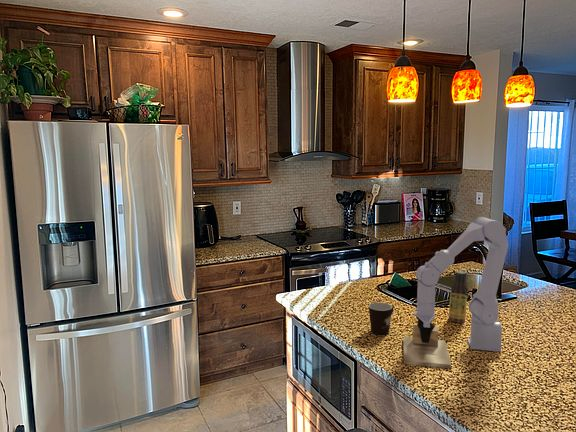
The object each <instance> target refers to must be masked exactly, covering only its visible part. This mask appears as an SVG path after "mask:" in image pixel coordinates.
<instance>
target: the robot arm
mask: <svg viewBox="0 0 576 432" xmlns="http://www.w3.org/2000/svg"><path fill="white" fill-rule="evenodd" d="M506 233H507V228H506V227H505V226H504V225H503V223H501V222H500V221H498V220H494V219H490V218H488V217H487V216H478V217H477V218H475V219H474V220H473V222H471V223H469V224H468V226H467V228H466V229H465V230H464V231H463V232H462V233H461V234H460V235H459V236H458V237H457V238H456V240H454V241H453V243H452V244H451V245H450V246H449V247H447V249H440V251H438V250H437V251H436V252H435V253H434V255H433V257H431V259H430V260H428V262H427V261H425V263H424V265H421V266H419V267H418V268H417V269H416V271H415V273H414V275H415V277H416V279H417V292H416V293H417V294H416V295H417V296H416V311H413V312H412V313H413V314H412V315H413V317H416V320H417V322H416V325H418V327H419V329H420V333H421V340H422V343H429V340H430V335H431V332H432V330H433V329H434V327H436V325H435V323H432V322H433V321H434V319H435V318H436V313H435V310H436V309H435V307H436V306H435V305H436V284H437V283H438V282H439V280H440V277H441V275H442V274H443V273H444V272H445V271H446V270H447V269H448V268H450V267H451V266H452V265H453V264H454V263H455V257H456V256H458V255H459V254H460V253H461V252H462V251H464V250H465V249H466V248H467V247H469V246H470V245H471V244H472V243H474V242H483V241H484V242H485V243H486V244H487V245H488V251H487V255H486V259H485V262H484V263H485V264H484V268H483V272H482V276H481V280H480V285H479V288H478V290H477V291H476V292H475V293H474V294H473V296H472V299H471V300H470V302H469V303H468V310H469V312H470V313H471V319H470V338H469V337H468V338H467V342H468V345H469V348H470V349H471V350H479V351H490V352H499V353H500V352H502V341H503V340H502V339H503V338H502V337H503V327H502V324H501V322H500V321H498V319H499V318H500V317H499V316H500V313H499V302H498V299H497V292H498V289H499V284H500V280H501V276H502V274H503V273H502V272H503V269H504V264H505V261H506V256H507V252H508V249H509V242H508V239H507V234H506Z"/></svg>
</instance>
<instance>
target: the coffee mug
mask: <svg viewBox="0 0 576 432" xmlns="http://www.w3.org/2000/svg"><path fill="white" fill-rule="evenodd" d="M394 309H395V308H394V306H393V305H391V304H389V303H387V302H381V301H380V302H379V301H378V302H370V303H369V304H368V314H369V323H370V331H371V333H372V334H373V335H375V336H379V337H381V336H383V337H384V336H387V335H389V334H390V329H391V328H390V326H391V321H392V320H391V319H392V315H393V313H394Z"/></svg>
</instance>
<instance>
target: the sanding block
mask: <svg viewBox="0 0 576 432" xmlns="http://www.w3.org/2000/svg"><path fill="white" fill-rule="evenodd" d="M412 338H413V345H421V346H432V347H438V340H439V328H438V326H435V327H434V329H433V330H432V332H431V335H430V340H429V343H422V340H421V333H420V329H419V327H418V325H417V324H413V325H412Z"/></svg>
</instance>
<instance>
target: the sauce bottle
mask: <svg viewBox="0 0 576 432" xmlns="http://www.w3.org/2000/svg"><path fill="white" fill-rule="evenodd" d="M454 276H455V278H454V282H453V284H452V285H451V288H450V294H449V307H448V320H449V321H450V322H452V323H459V324H460V323H464V322H465V321H466V316H467V304H468V287H467V285H466V277H467V272H466V271H463V270H455V273H454Z"/></svg>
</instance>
